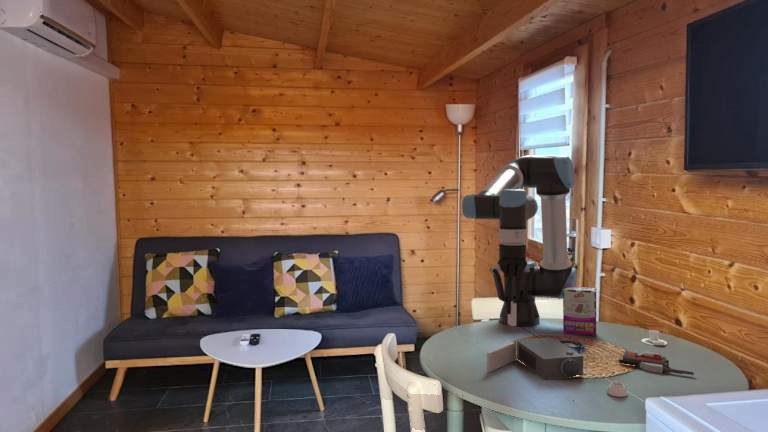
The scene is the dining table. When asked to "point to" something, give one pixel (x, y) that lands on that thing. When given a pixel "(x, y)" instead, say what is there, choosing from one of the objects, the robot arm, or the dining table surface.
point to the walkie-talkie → (650, 362)
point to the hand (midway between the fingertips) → (511, 324)
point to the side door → (501, 356)
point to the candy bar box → (579, 310)
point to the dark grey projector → (549, 358)
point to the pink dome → (617, 389)
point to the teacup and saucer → (654, 338)
